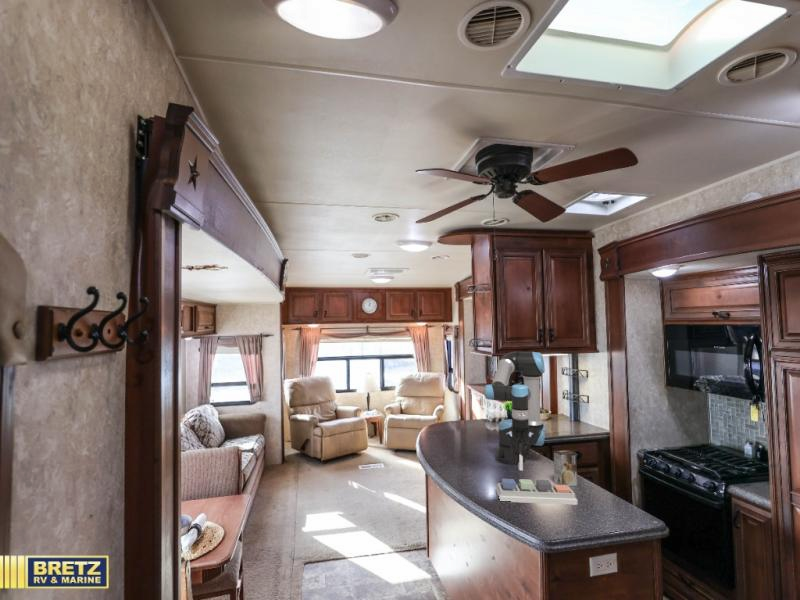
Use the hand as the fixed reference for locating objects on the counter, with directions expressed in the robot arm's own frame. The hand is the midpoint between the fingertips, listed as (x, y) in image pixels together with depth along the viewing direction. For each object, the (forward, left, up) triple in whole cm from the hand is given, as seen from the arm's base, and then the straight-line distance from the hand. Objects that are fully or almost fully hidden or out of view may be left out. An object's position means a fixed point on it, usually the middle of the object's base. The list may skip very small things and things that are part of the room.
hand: (520, 469), depth 200 cm
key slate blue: (0, -6, -8) cm, 10 cm away
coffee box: (-18, +26, -13) cm, 34 cm away
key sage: (0, +3, -8) cm, 8 cm away
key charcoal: (0, +11, -8) cm, 13 cm away
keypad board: (0, +7, -12) cm, 14 cm away
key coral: (0, +18, -10) cm, 21 cm away
